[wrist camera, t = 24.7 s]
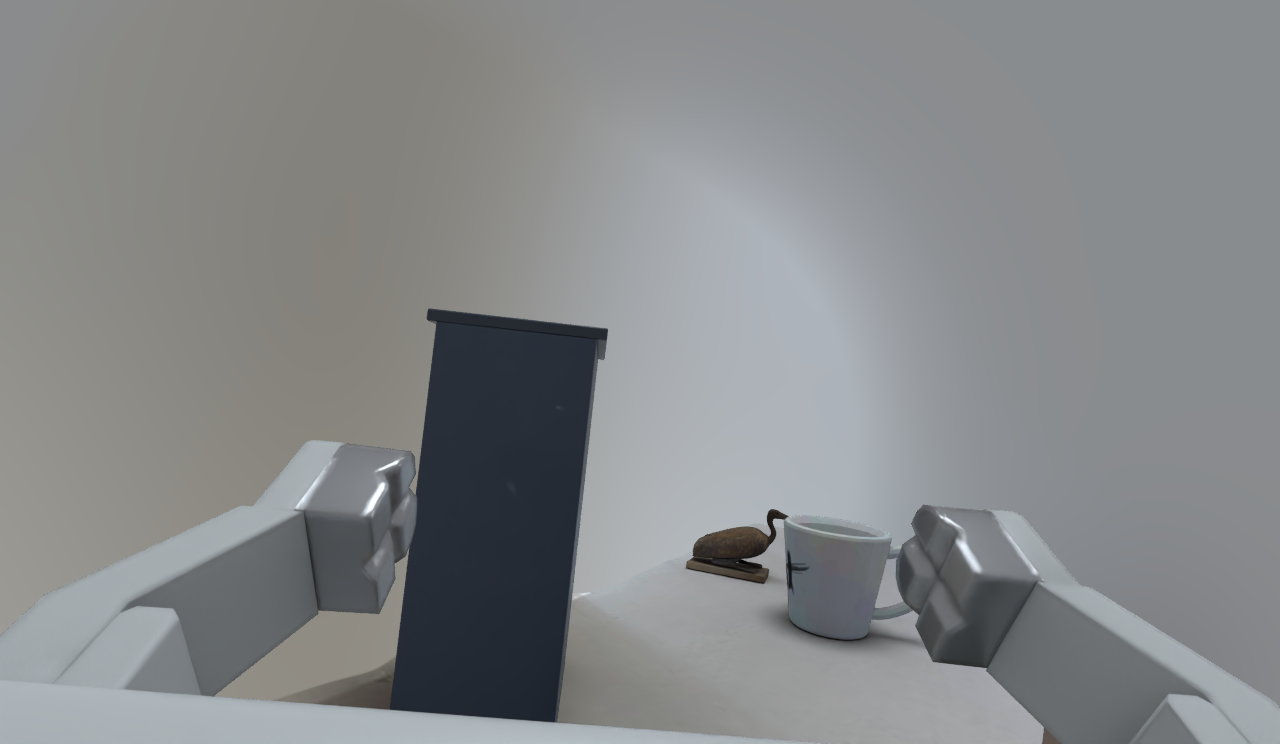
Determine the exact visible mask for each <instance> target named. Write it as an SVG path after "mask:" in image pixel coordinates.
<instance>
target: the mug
mask: <svg viewBox="0 0 1280 744" xmlns="http://www.w3.org/2000/svg"><path fill="white" fill-rule="evenodd" d="M784 535H785V553H786V572H787V590H788V608H789V617H790V619H791V621H792V622H793V623H794V624H795V625H796V626H798V627H799V628H801V629H803V630H805V631H807V632H810V633H813V634H816V635H819V636H824V637H828V638H834V639H841V640H853V639H859V638H863V637H864V636H866V635H867V633H868V630H869V627H870V623H871V620H884V619H890V618H895V617H898V616H901V615H904V614H907V613H909V612H911V611H913V609H911V608H910V607H909V606H908V605H907V604H905V603H904V602H901V603H899V604H896V605H893V606H889V607H884V608H874V607H875V603H876V599H877V595H878V591H879V587H880V584H881V580H882V576H883V572H884V568H885V564H886V560H887V559H894V558H898V555H899V552H900V550H901V547H902V546H901V547H900V546H897V547H890V544H891V540H892V539H891V538H892V537H891V535H890V534H889V533H887V532H885V531H884V530H882V529H879V528H876V527H873V526H870V525H866V524H862V523H858V522H853V521H848V520H842V519H836V518H828V517H820V516H791V517H787V518H786V519H785V520H784Z"/></svg>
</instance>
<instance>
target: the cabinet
mask: <svg viewBox="0 0 1280 744" xmlns="http://www.w3.org/2000/svg"><path fill="white" fill-rule="evenodd" d="M1042 744H1061V743H1060V742H1059V741H1058V740H1057V739H1056V738H1055V737H1054V736H1053V735H1052V734H1051V733H1050V732H1049V731H1048V730H1046V729H1045V728H1044V734H1043V742H1042Z"/></svg>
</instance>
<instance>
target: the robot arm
mask: <svg viewBox="0 0 1280 744" xmlns="http://www.w3.org/2000/svg"><path fill="white" fill-rule="evenodd" d="M415 475H416V470H415V457H414V455H413V454H412V453H411V451H404V450H396V449H388V448H380V447H372V446H363V445H356V444H348V443H347V444H344V443H338V442H328V441H319V440H312V441H309V442H306V443H305V444H304V445H303V446H302V448H301V449H300V450H299V451H298V452H297V454H296V455H295V456H294V457H293V459H292V460H291V461H290V462H289V463H288V464H287V466H286V467H285V468H284V469H283V470H282V472H281V473H280V474H279V475H278V476H277V478H276V479H275V480H274V481H273V482H272V484H271V485H270V486H269V487H268V488H267V490H266V491H265V492H264V493H263V495H262V496H261V497H260V498H259V499H258V500H257V502H256V503H255V504H254V505H253V506H240V507H237V508H235V509H233V510H231V511H229V512H226V513H224V514H222V515H220V516H217V517H215V518H213V519H211V520H209V521H207V522H204V523H202V524H200V525H198V526H195V527H193V528H191V529H189V530H186V531H184V532H182V533H180V534H178V535H175V536H173V537H171V538H169V539H167V540H164V541H162V542H160V543H158V544H155V545H153V546H151V547H149V548H147V549H144V550H142V551H140V552H138V553H136V554H133V555H131V556H129V557H127V558H125V559H122V560H120V561H118V562H116V563H113V564H111V565H109V566H107V567H104V568H102V569H100V570H98V571H96V572H93V573H91V574H89V575H87V576H85V577H82V578H80V579H78V580H76V581H74V582H71V583H69V584H67V585H65V586H62V587H60V588H58V589H56V590H54V591H51V592H49V593H47V594H45V595H43V596H42V597H41V598H40V599H39V600H38V601H37V602H36V603H35V604H34V605H33V606H32V607H31V608H30V609H28V611H26V612H25V613H24V614H23V615H22V616H21V617H20V618H19V619H18V620H17V621H15V622H14V623H13V624H12V625H11V626H10V627H9V628H8V629H7V630H6V631H5V632H4V633H3V634H2V635H0V744H828V743H815V742H802V741H789V740H776V739H763V738H750V737H737V736H724V735H710V734H697V733H684V732H671V731H658V730H645V729H632V728H619V727H606V726H593V725H580V724H567V723H554V722H541V721H528V720H515V719H502V718H489V717H476V716H463V715H450V714H437V713H424V712H411V711H398V710H385V709H372V708H359V707H346V706H333V705H320V704H307V703H294V702H281V701H268V700H254V699H240V698H228V697H215V696H214V695H216V694H217V693H218V692H219V691H221V690H222V689H223V688H224V687H226V686H227V685H228V684H230V683H231V682H232V681H233V680H235V679H236V678H237V677H238V676H240V675H241V674H242V673H243V672H245V671H246V670H247V669H249V668H250V667H251V666H253V665H254V664H255V663H256V662H258V661H259V660H260V659H261V658H263V657H264V656H265V655H267V654H268V653H269V652H270V651H271V650H273V649H274V648H275V647H277V646H278V645H279V644H280V643H282V642H283V641H284V640H285V639H287V638H288V637H289V636H291V635H292V634H293V633H295V632H296V631H297V630H298V629H300V628H301V627H302V626H303V625H305V624H306V623H307V622H308V621H310V620H311V619H312V618H314V617H315V616H316V615H317V614H318V610H321V611H337V612H354V613H355V612H356V613H371V614H372V613H373V614H379V613H380V611H381V609H382V607H383V605H384V602H385V600H386V598H387V596H388V594H389V592H390V589H391V587H392V585H393V583H394V581H395V563H396V562H398V561H399V560H401V559H402V558H404V557H405V556H406V554H407V551H408V549H409V547H410V544H411V542H412V538H413V534H414V530H415V526H416V517H417V496H416V495H415V494H414V493H413V492H412V490H411V489H410V488H409V487H410V485H411V483H412V481H413V479H414V476H415ZM911 524H912V527H913V529H914V532H915V534H916V535H915V536H914V537H912V538H911V539H910V540H908V541H907V542H905V543H904V544H903V545H902V547H901V550H900V552H899V555H898V558H897V560H896V580H897V585H898V589H899V592H900V594H901V596H902V599H903V601H904V603H905V604H907V605H908V606H909V607H910V608H911V609H913V610H914V611H915V612H916V613H917V614H919V617H918V620H917V623H916V625H915V626H916V628H917V630H918V632H919V634H920V636H921V638H922V641H923V643H924V645H925V647H926V649H927V651H928V653H929V655H930V657H931V659H932V661H933V662H938V663H947V664H956V665H964V666H973V667H982V668H987V670H986V671H987V672H988V673H989V674H990V675H991V676H992V677H993V678H994V679H995V680H996V681H997V682H998V683H999V684H1000V685H1001V686H1002V687H1003V688H1004V689H1005V690H1006V691H1007V692H1009V693H1010V694H1011V695H1012V696H1013V697H1014V698H1015V699H1016V700H1017V701H1018V702H1019V703H1020V704H1021V705H1022V706H1023V707H1024V708H1025V709H1026V710H1027V711H1028V712H1029V713H1030V714H1031V715H1032V716H1033V717H1034V718H1035V719H1036V720H1037V721H1038V722H1039V723H1040V724H1041V725H1042V726H1043V727H1044V728H1045V729H1046V730H1048V731H1049V732H1050V733H1051V734H1052V735H1053V736H1054V737H1055V738H1056V739H1057V740H1058V741H1059V742H1060V743H1061V744H1280V707H1279V706H1278V705H1277V704H1276V703H1275V702H1274V701H1273V700H1271V699H1270V698H1268V697H1266V696H1265V695H1263V694H1262V693H1260V692H1258V691H1257V690H1255V689H1254V688H1252V687H1250V686H1249V685H1247V684H1245V683H1244V682H1242V681H1241V680H1239V679H1237V678H1236V677H1234V676H1232V675H1231V674H1229V673H1228V672H1226V671H1225V670H1223V669H1221V668H1220V667H1218V666H1216V665H1215V664H1213V663H1212V662H1210V661H1208V660H1207V659H1205V658H1203V657H1202V656H1200V655H1199V654H1197V653H1195V652H1194V651H1192V650H1191V649H1189V648H1187V647H1186V646H1184V645H1183V644H1181V643H1179V642H1178V641H1176V640H1174V639H1173V638H1171V637H1170V636H1168V635H1167V634H1165V633H1163V632H1162V631H1160V630H1158V629H1157V628H1155V627H1153V626H1152V625H1150V624H1149V623H1147V622H1146V621H1144V620H1142V619H1141V618H1139V617H1138V616H1136V615H1134V614H1133V613H1131V612H1129V611H1128V610H1126V609H1125V608H1123V607H1121V606H1120V605H1118V604H1117V603H1115V602H1113V601H1112V600H1110V599H1109V598H1107V597H1105V596H1104V595H1102V594H1100V593H1099V592H1097V591H1095V590H1094V589H1092V588H1091V587H1085V586H1080V585H1079V584H1078V583H1077V581H1076V580H1075V579H1074V578H1073V576H1072V575H1071V574H1070V573H1069V572H1068V570H1067V569H1066V568H1065V567H1064V565H1063V564H1062V563H1061V562H1060V561H1059V560H1058V558H1057V557H1056V556H1055V555H1054V553H1053V552H1052V551H1051V550H1050V549H1049V547H1048V546H1047V545H1046V544H1045V542H1044V541H1043V540H1042V539H1041V538H1040V536H1039V535H1038V534H1037V533H1036V531H1035V530H1034V529H1033V528H1032V526H1031V525H1030V524H1029V523H1028V522H1027V521H1026V519H1025V518H1024V517H1023V516H1021V515H1019V514H1017V513H1015V512H1010V511H997V510H973V509H962V508H951V507H942V506H931V505H923V506H922V507H921V508H920V509H919V510H918V511H917V512H916V514H915V517H914V519H913V521H912V523H911Z"/></svg>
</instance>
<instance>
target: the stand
mask: <svg viewBox="0 0 1280 744" xmlns="http://www.w3.org/2000/svg"><path fill="white" fill-rule="evenodd" d="M427 320H428V321H431V322H433V323H435V324H436V332H435V340H434V348H433V356H432V364H431V373H430V382H429V389H428V398H427V406H426V415H425V423H424V431H423V439H422V448H421V456H420V464H419V472H418V481H417V489H416V496H417V517H416V526H415V530H414V534H413V538H412V542H411V544H410V547H409V555H408V565H407V572H406V581H405V589H404V597H403V605H402V613H401V622H400V630H399V639H398V646H397V655H396V663H395V671H394V680H393V688H392V696H391V705H390V710H398V711H411V712H424V713H437V714H450V715H463V716H476V717H489V718H502V719H515V720H528V721H541V722H554V723H557V718H558V710H559V702H560V695H561V687H562V680H563V672H564V664H565V656H566V647H567V638H568V629H569V619H570V610H571V601H572V592H573V583H574V574H575V565H576V555H577V546H578V537H579V528H580V519H581V510H582V500H583V490H584V482H585V473H586V464H587V454H588V445H589V436H590V427H591V418H592V409H593V400H594V391H595V382H596V371H597V363H598V359H601V360H604V358H605V350H606V342H607V333H608V329H606V328H598V327H589V326H580V325H571V324H562V323H553V322H544V321H536V320H527V319H518V318H509V317H508V318H507V317H500V316H491V315H482V314H472V313H464V312H456V311H447V310H438V309H428V313H427Z"/></svg>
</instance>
